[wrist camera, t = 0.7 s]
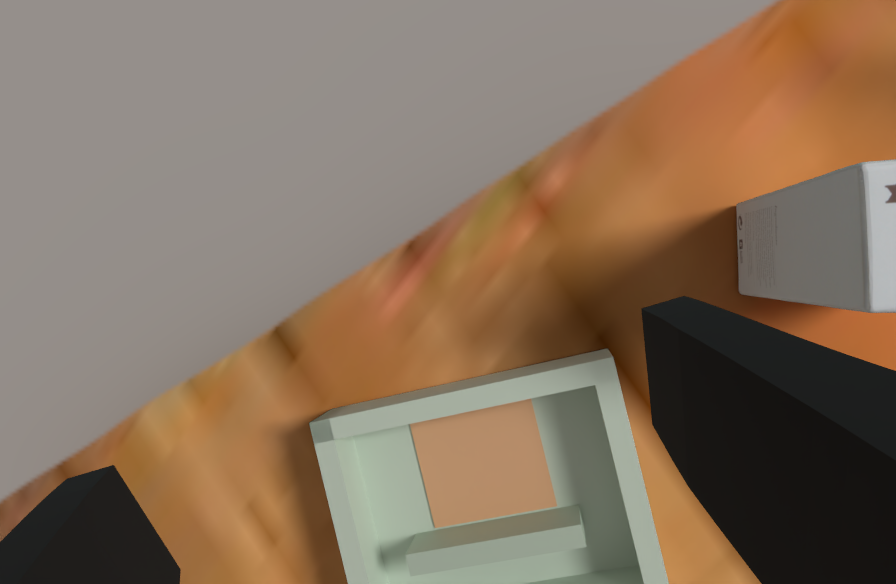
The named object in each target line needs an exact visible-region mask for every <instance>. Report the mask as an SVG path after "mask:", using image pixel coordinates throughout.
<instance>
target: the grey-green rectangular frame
mask: <svg viewBox="0 0 896 584" xmlns="http://www.w3.org/2000/svg"><path fill="white" fill-rule="evenodd" d="M309 425H310V429H311V433H312V437H313V442H314V446H315V450H316V454H317V458H318V462H319V466H320V470H321V475H322V479H323V483H324V487H325V491H326V495H327V499H328V503H329V508H330V512H331V516H332V520H333V524H334V528H335V532H336V536H337V541H338V545H339V549H340V553H341V557H342V561H343V565H344V569H345V574H346V578H347V582H348V584H669V582H668V578H667V574H666V570H665V566H664V562H663V558H662V554H661V550H660V546H659V542H658V538H657V533H656V529H655V525H654V521H653V517H652V513H651V509H650V505H649V501H648V497H647V493H646V489H645V485H644V480H643V476H642V472H641V468H640V464H639V460H638V456H637V452H636V448H635V444H634V440H633V436H632V432H631V428H630V423H629V419H628V415H627V411H626V407H625V403H624V399H623V395H622V391H621V387H620V383H619V379H618V375H617V370H616V366H615V362H614V358H613V356H612V354H611V353H610V351H609V350H608V348H607V349H603V350H598V351H593V352H589V353H584V354H580V355H575V356H571V357H566V358H562V359H557V360H552V361H548V362H543V363H539V364H534V365H530V366H525V367H521V368H516V369H512V370H507V371H502V372H498V373H493V374H489V375H484V376H480V377H475V378H471V379H466V380H461V381H457V382H452V383H448V384H443V385H439V386H434V387H430V388H425V389H420V390H416V391H411V392H407V393H402V394H398V395H393V396H389V397H384V398H379V399H375V400H370V401H366V402H361V403H357V404H352V405H348V406H343V407H338V408H334V409H331V410H329V411H328V412H326V413H324V414H323V415H321V416H320V417H318V418H316V419H315V420H313V421H311V422H310V423H309Z"/></svg>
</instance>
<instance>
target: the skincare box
mask: <svg viewBox="0 0 896 584" xmlns="http://www.w3.org/2000/svg"><path fill="white" fill-rule="evenodd" d="M736 210H737V244H738V273H739V293H740V294H742V295H748V296H755V297H763V298H770V299H776V300H782V301H790V302H797V303H804V304H812V305H819V306H825V307H832V308H839V309H846V310H854V311H862V312H868V313H896V160H884V161H871V162H862V163H859V164H855V165H852V166H848V167H845V168H842V169H838V170H835V171H833V172H830V173H827V174H825V175H822V176H819V177H816V178H813V179H810V180H807V181H804V182H800V183H798V184H795V185H792V186H789V187H786V188H783V189H780V190H777V191H774V192H771V193H768V194H765V195H762V196H759V197H755V198H753V199H749V200H747V201H744V202H741V203H738V204H737V206H736Z"/></svg>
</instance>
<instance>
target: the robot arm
mask: <svg viewBox="0 0 896 584" xmlns="http://www.w3.org/2000/svg"><path fill="white" fill-rule="evenodd" d="M642 320H643V330H644V341H645V351H646V361H647V372H648V382H649V393H650V403H651V414H652V424H653V426H654V428H655V430H656V432H657V433H658V435H659V437H660V439H661V441H662V442H663V444H664V446H665V448H666V449H667V451H668V453H669V455H670V456H671V458H672V460H673V462H674V463H675V465H676V467H677V468H678V470H679V472H680V473H681V475H682V477H683V478H684V480H685V482H686V483H687V485H688V487H689V488H690V489H691V491H692V492H693V493H694V495H695V496H696V498H697V499H698V500H699V502H700V503H701V504H702V506H703V507H704V508H705V510H706V511H707V512H708V514H709V515H710V516H711V518H712V519H713V520H714V522H715V523H716V524H717V526H718V527H719V528H720V530H721V531H722V532H723V534H724V535H725V536H726V538H727V539H728V540H729V541H730V543H731V544H732V545H733V547H734V548H735V549H736V551H737V552H738V553H739V555H740V556H741V557H742V558H743V560H744V561H745V562H746V564H747V565H748V566H749V568H750V569H751V570H752V572H753V573H754V574H755V575H756V577H757V578H758V579H759V581H760V582H761V583H762V584H896V371H894V370H891V369H888V368H885V367H882V366H879V365H876V364H873V363H870V362H867V361H864V360H861V359H858V358H855V357H852V356H849V355H846V354H844V353H841V352H838V351H835V350H832V349H829V348H827V347H824V346H821V345H818V344H816V343H813V342H810V341H807V340H805V339H802V338H799V337H796V336H794V335H791V334H788V333H786V332H783V331H780V330H778V329H775V328H772V327H770V326H767V325H764V324H762V323H759V322H756V321H754V320H751V319H748V318H746V317H743V316H740V315H738V314H735V313H732V312H730V311H727V310H724V309H722V308H719V307H716V306H713V305H710V304H708V303H705V302H702V301H699V300H696V299H692V298H689V297H686V296H683V297H679V298H676V299H672V300H669V301H666V302H662V303H659V304H656V305H652V306H649V307H645V308H642ZM0 584H180V568H179V566H178V565H177V563H176V562H175V560H174V559H173V557H172V555H171V554H170V552H169V551H168V549H167V548H166V546H165V544H164V543H163V541H162V540H161V538H160V537H159V535H158V534H157V532H156V530H155V529H154V527H153V526H152V524H151V523H150V521H149V520H148V518H147V516H146V515H145V513H144V512H143V510H142V509H141V507H140V505H139V504H138V502H137V501H136V499H135V498H134V496H133V495H132V493H131V491H130V490H129V488H128V487H127V485H126V484H125V482H124V480H123V479H122V477H121V476H120V474H119V473H118V471H117V470H116V468H115V466H114V465H112V466H109V467H105V468H102V469H99V470H95V471H92V472H88V473H85V474H82V475H78V476H75V477H72V478H68V479H66V480H65V481H64V482H63V483H62V484H60V485H59V486H58V487H57V488H56V489H55V490H53V491H52V492H51V493H50V494H49V495H48V496H47V497H46V498H45V499H44V500H42V501H41V502H40V503H39V504H38V505H37V506H36V507H35V508H34V509H33V510H32V511H31V512H30V513H29V514H28V515H27V516H26V517H25V518H24V519H23V520H22V521H21V522H20V523H19V524H18V525H17V526H16V527H15V528H14V529H13V530H12V531H11V532H10V533H9V534H8V535H7V536H6V537H5V538H4V539H3V540H2V541H1V542H0Z"/></svg>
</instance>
